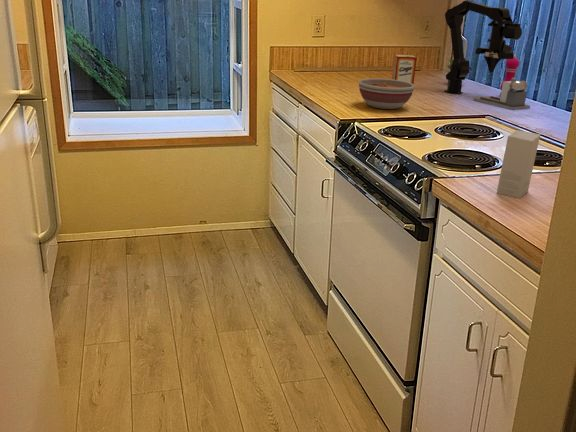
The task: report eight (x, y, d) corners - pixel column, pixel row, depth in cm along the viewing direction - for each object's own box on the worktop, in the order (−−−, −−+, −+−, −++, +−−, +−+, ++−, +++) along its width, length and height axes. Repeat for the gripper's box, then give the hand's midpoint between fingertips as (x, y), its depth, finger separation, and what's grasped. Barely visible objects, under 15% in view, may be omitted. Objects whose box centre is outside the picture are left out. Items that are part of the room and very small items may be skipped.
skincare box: (505, 185, 167) (515, 129, 162) (530, 191, 164) (542, 133, 158) (495, 193, 161) (506, 134, 155) (521, 199, 157) (533, 139, 152)
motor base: (473, 100, 285) (477, 74, 281) (490, 98, 291) (495, 73, 287) (511, 110, 268) (516, 83, 264) (529, 108, 274) (534, 81, 270)
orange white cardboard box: (393, 89, 303) (397, 55, 297) (391, 86, 309) (394, 53, 303) (412, 90, 303) (416, 56, 298) (409, 87, 310) (413, 54, 304)
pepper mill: (515, 99, 295) (523, 56, 287) (499, 97, 296) (507, 54, 288) (513, 96, 301) (521, 54, 294) (497, 95, 302) (505, 53, 295)
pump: (499, 101, 277) (504, 76, 273) (507, 101, 280) (512, 76, 276) (507, 103, 274) (511, 78, 270) (515, 102, 277) (519, 77, 272)
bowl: (377, 114, 246) (380, 88, 242) (346, 102, 264) (348, 79, 261) (422, 111, 256) (426, 87, 252) (389, 100, 275) (392, 77, 271)
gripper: (525, 39, 274) (519, 75, 280) (495, 35, 290) (489, 69, 295) (507, 39, 269) (500, 76, 275) (477, 35, 285) (471, 69, 291)
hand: (491, 72), depth 284 cm, fingers closed
